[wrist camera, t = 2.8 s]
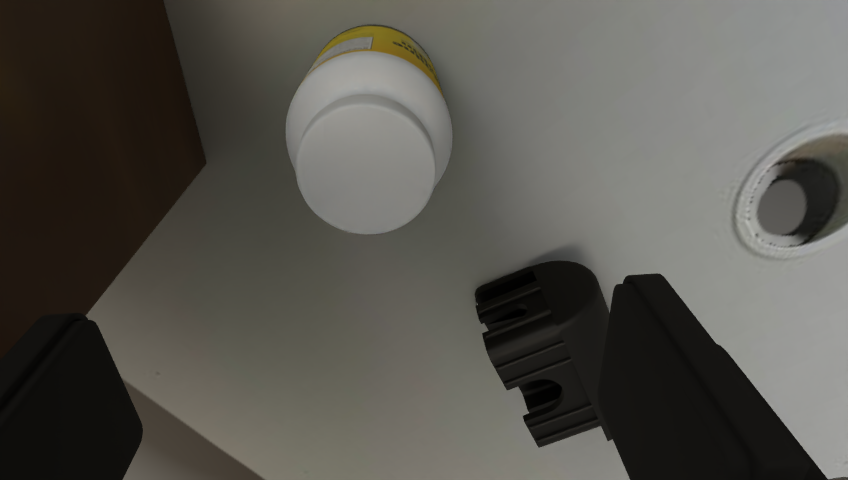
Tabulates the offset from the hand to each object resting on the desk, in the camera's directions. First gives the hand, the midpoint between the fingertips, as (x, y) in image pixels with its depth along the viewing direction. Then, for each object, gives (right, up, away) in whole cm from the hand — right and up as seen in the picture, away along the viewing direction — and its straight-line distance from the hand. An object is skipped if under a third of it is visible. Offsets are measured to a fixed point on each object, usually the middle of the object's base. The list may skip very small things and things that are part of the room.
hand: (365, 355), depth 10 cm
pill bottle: (-1, +10, +18) cm, 21 cm away
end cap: (+9, -3, +26) cm, 28 cm away
